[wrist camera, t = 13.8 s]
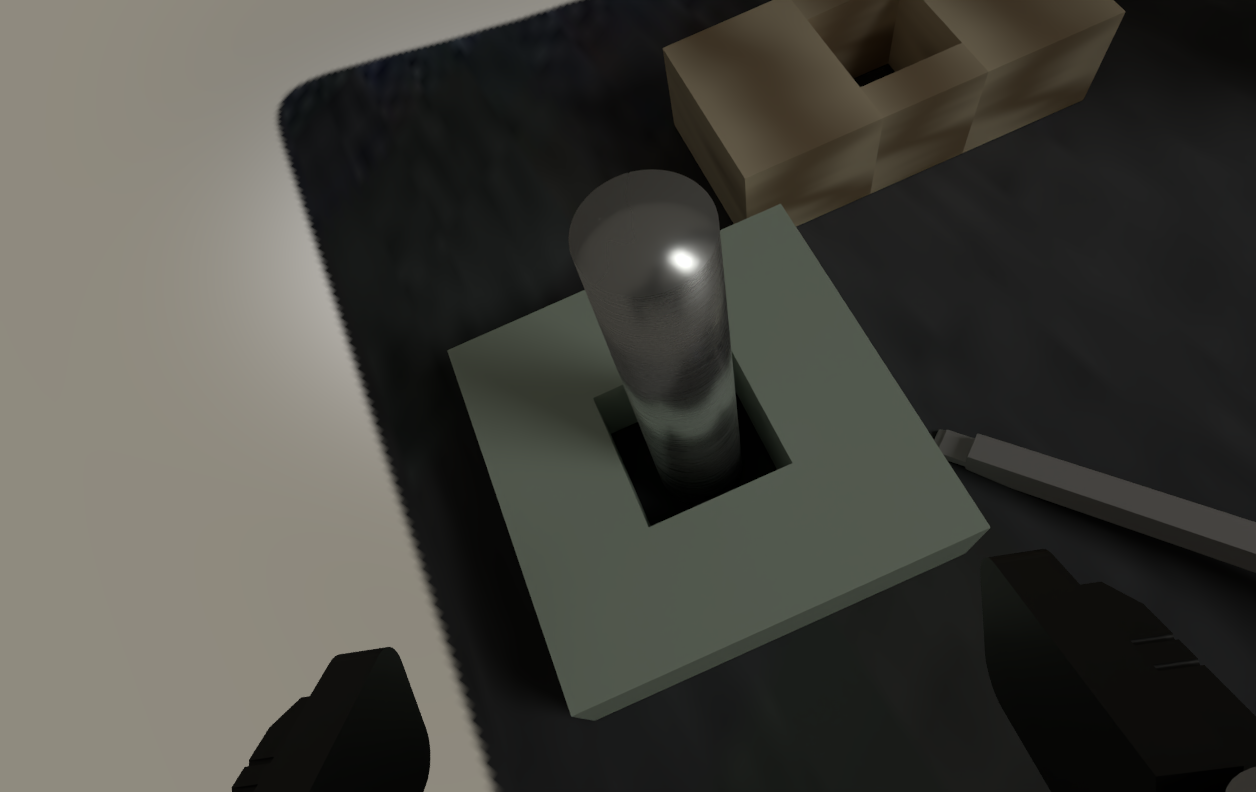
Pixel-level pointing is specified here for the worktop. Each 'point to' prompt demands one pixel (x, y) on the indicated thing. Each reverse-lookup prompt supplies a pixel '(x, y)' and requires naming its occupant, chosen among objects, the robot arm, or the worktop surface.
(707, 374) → the axle
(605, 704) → the socket block
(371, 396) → the worktop surface
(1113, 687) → the robot arm
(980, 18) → the wooden block with hole
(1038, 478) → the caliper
